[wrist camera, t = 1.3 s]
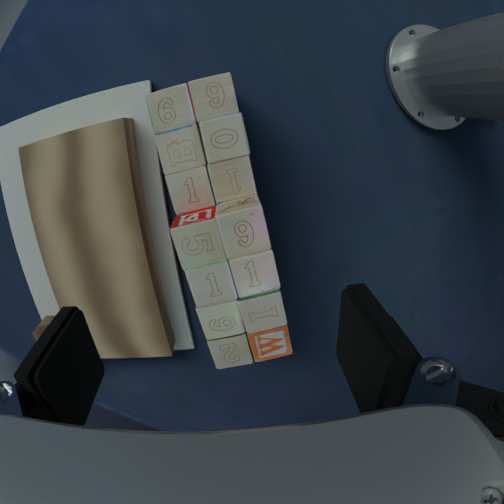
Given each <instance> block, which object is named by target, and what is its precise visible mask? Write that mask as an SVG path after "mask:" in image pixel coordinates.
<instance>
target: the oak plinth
mask: <svg viewBox="0 0 504 504" xmlns="http://www.w3.org/2000/svg"><path fill="white" fill-rule="evenodd" d="M18 150H19V157H20V164H21V170H22V176H23V181H24V187H25V192H26V197H27V201H28V206H29V211H30V215H31V219H32V223H33V227H34V231H35V235H36V239H37V242H38V246H39V249H40V253H41V256H42V259H43V263H44V266H45V269H46V272H47V275H48V278H49V281H50V284H51V287H52V290H53V293H54V296H55V298H56V301H57V304H58V306H59V309H61V308H62V307H65V306H76V307H78V308H79V310H82V311H83V313H84V316H85V319H86V322H87V324H88V327H89V330H90V332H91V335H92V338H93V340H94V343H95V345H96V348H97V350H98V353H99V355H100V358H145V357H166V356H173V350H174V345H175V336H174V333H173V329H172V325H171V321H170V317H169V314H168V310H167V306H166V301H165V297H164V293H163V289H162V285H161V280H160V276H159V272H158V267H157V262H156V258H155V253H154V248H153V243H152V238H151V233H150V228H149V223H148V217H147V212H146V206H145V200H144V195H143V188H142V182H141V176H140V169H139V162H138V155H137V148H136V140H135V132H134V123H133V118H119V119H115V120H110V121H106V122H102V123H98V124H94V125H90V126H87V127H83V128H79V129H76V130H72V131H69V132H65V133H62V134H59V135H55V136H52V137H49V138H46V139H43V140H40V141H37V142H34V143H31V144H28V145H25V146H22V147H20V148H18Z"/></svg>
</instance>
